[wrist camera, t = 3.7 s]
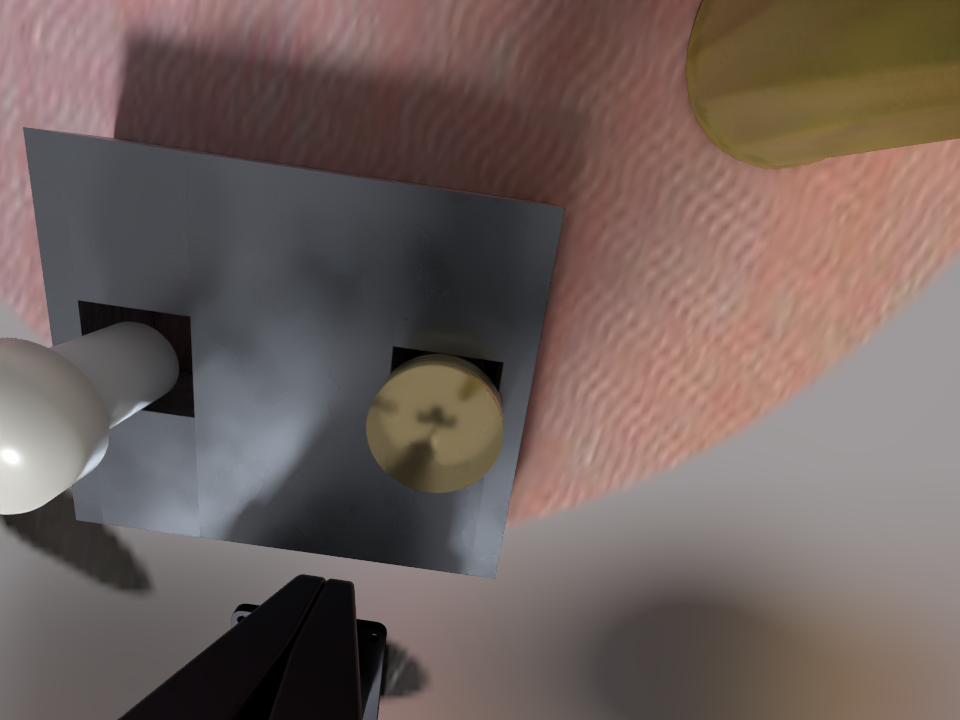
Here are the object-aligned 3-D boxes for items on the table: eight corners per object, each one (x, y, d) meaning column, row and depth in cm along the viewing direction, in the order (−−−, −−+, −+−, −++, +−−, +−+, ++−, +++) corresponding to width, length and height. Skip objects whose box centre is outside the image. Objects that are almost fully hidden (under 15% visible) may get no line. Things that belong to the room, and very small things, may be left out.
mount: (495, 519, 20) (495, 578, 17) (140, 469, 20) (76, 519, 17) (552, 204, 16) (564, 208, 13) (112, 137, 16) (23, 127, 13)
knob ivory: (201, 424, 16) (76, 525, 11) (83, 407, 16) (-92, 501, 11) (196, 310, 15) (55, 369, 10) (69, 292, 14) (-132, 342, 10)
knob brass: (494, 422, 19) (492, 501, 14) (395, 409, 19) (361, 482, 14) (509, 328, 18) (513, 379, 13) (405, 313, 18) (371, 359, 13)
